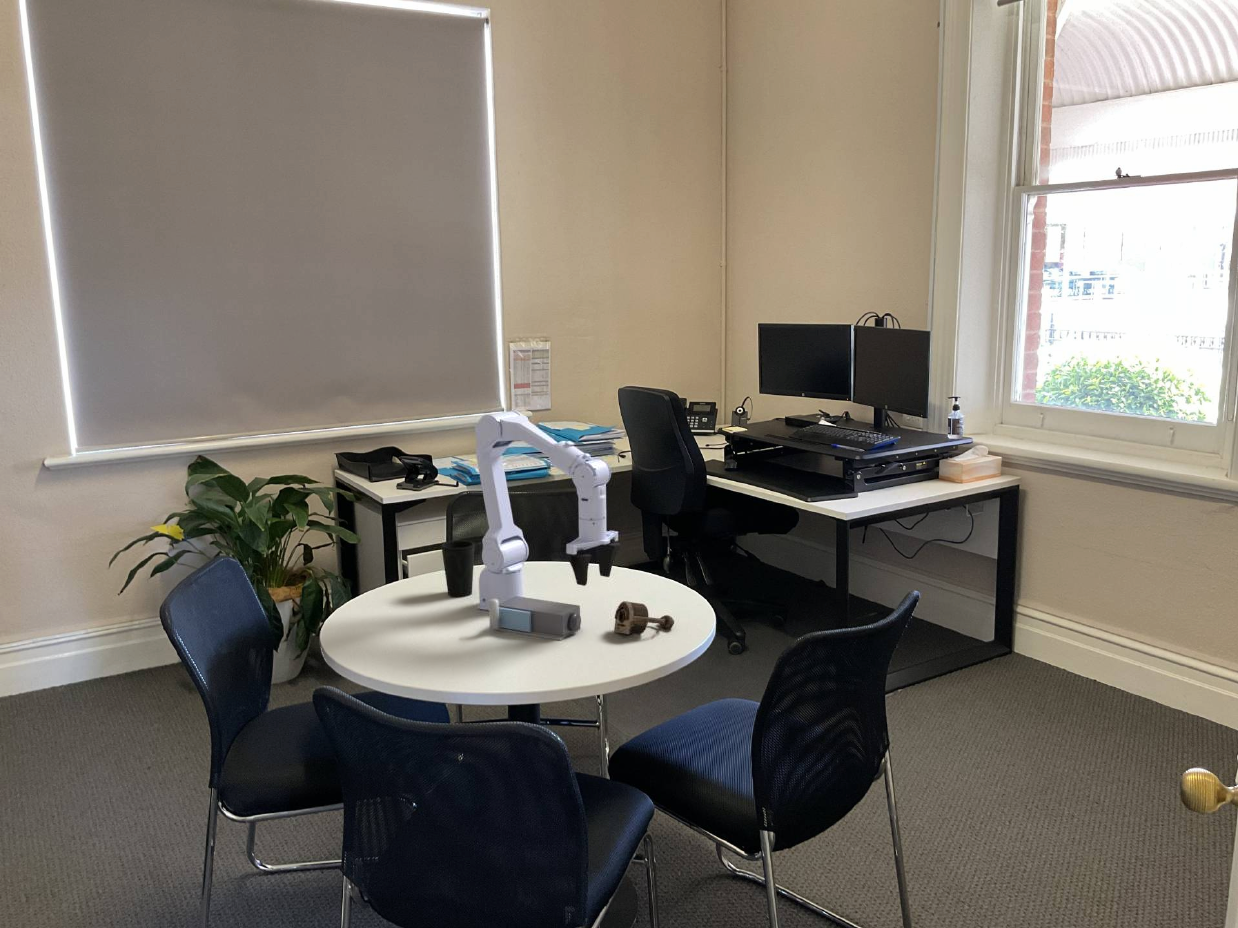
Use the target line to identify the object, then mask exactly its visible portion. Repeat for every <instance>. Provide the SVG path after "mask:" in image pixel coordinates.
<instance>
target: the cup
mask: <svg viewBox="0 0 1238 928" xmlns="http://www.w3.org/2000/svg"><path fill="white" fill-rule="evenodd" d="M475 545H476V544H475V543H474V542H473V541H470V540H460V539H459V540H451V541H446V542H443V543H442V544H441V546H440V547H441V552H442V553H441V554H442V559H443V560H442V561H443V568H444V574H445V580H446V589H447V594H448V596H449V597H451V598H466V597H469V596H471V595H472V594H473V585H474V584H473V581H474V564H475V563H474V562H475V560H474V559H475Z"/></svg>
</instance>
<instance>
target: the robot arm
mask: <svg viewBox="0 0 1238 928" xmlns="http://www.w3.org/2000/svg"><path fill="white" fill-rule="evenodd" d="M474 432H475V439H476V442H475V443H476V444H475V455H476V462H477V468H478V473H479V480H480V483H481V484H480V485H481V489H482V495H483V500H484V506H485V507H484V508H485V512H486V517H487V524H488V529H487V531H486V533H485V534H484V536H483V538H482V540H481V541H482V552H481V559H482V562H483V565H484V566H485V567H483V569H482V570H481V572H480V573H479V576H478V577H479V578H478V591H479V595H478V599H479V605H478V606H477V609H480V610H484V611H489V600H490V599H498V601H499V604H501V603H503V602H505V601H507V600H509V599H511V598H513V597H515V596H519V597H524V586H523V583H524V581H523V568H524V566H525V561H526V560H527V559H528V557H529V554H530V553H529V552H530V551H529V545H528V543H527V542H526V540H525V538H524V534H523V530H522V529H521V528H520V527H518V526H517V525H516V524H515V523H514V518H513V512H512V506H511V502H510V496H509V490H508V483H507V479H506V473H505V468H504V462H503V454H504V453H505V452H506V451H507V449H508V447H509V446H510V445H511V444H513V443H514V442H515V441H521V442H523V443H524V444H526V445H528V446H531V447H532V448H534V449H535V450H537V451H539V452H541V453H543V454H544V455H546V456H548V461H549V463H550V464H551V465H552V466H553V467H554V468H556V469H558V470H559V471H561V472H563V473H564V474H565V475H567V476H568V477H570V478H572V483H573V484H574V486H575V488H576V495H577V497H578V537H577V538H576V539H574V540H573V541H570V542H569V543H567V544H565V545H566V548H565V549H566V550H565V552H564V553H565V555H564V556H565V557H566V560H568V563H569V564H570V566H571V568H572V571H573V575H574V578H575V582H576V585H579V586H582V587H583V586H584V587H585V586H587V583H588V577H589V576H588V575H589V573H588V572H589V565H590V561H591V559H592V554H589V553H586V552H585V550H588V549H589V550H590V549H592V548H595V551H596V554H597V559H598V571H599V575H600V577H605V578H610V576H611V571H612V568H613V563H614V562H615V561H614V560H615V558H616V555H617V554H618V551H619V550H620V548H621V544H620V543H619V542H618V541H619V531H615V530H609V531H608V530H607V486H606V485H607V484H608V483H609V481H610V480H611V477H612V469H611V467H610V464H609V463H608V462H607V461H606V460H605V459H604V458H602V457H594V458H593V457H591V454H589V453H588V452H587V453H585V452H584V451H582V450H580V449H579V448H577V447H576V446H574V445H575V444H574V443H573V442H572V441H570V440H568V441H565V440H562V441H559V442H558V441H557V440H555V439H553V438H552V437H551V436H550V435H548V434H547V433H545V432H544V431H543V430H541V429H540V428H539V427H537V426H536V425H534V423H532V422H530V420H529V419H528V417H527V416H526V415H524V414H522V413H521V412H519V411H517V410H515V409H514V410H509V411H505V412H499V413H493V414H484V415H482V416H481V417H480V418H479V420H478V421H477V423H476V424H475V426H474Z"/></svg>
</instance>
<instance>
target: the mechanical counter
mask: <svg viewBox="0 0 1238 928" xmlns="http://www.w3.org/2000/svg"><path fill="white" fill-rule="evenodd" d="M649 615H650V614H649V610H648V607H647V606H646V605H645V604H644V603H637V602H633V601H632V602H630V601H625V600H623V601H621V602H620V603H619V605H618V606H617V608H616V610H615V614H614V628H613V632H614V633H621V634H625V635H630V634H636V635H642V634H644V632H645V631H646V629H647V626H648V623H650V624H659V625H660V626H661V627H662V628H664V629H668V630H669V629H671V628H673V626H674V624H675V620H674V618H673V617H672V616H670V615H669V614H666V615H663V616H660V618H659V617H650V616H649Z"/></svg>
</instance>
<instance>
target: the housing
mask: <svg viewBox="0 0 1238 928" xmlns="http://www.w3.org/2000/svg"><path fill="white" fill-rule="evenodd" d="M499 607H501V608H508V609H514V610H521V611H527V612H531V632H526V631H520V630H514V629H508V628H502V627H499V629H494V631H495V630H496V631H502V632H507V633H514V634H520V635H526V636H532V637H537V638H538V637H539V638H543V639H548V640H549V639H550V640H554V641H562V640H564V639H566V638H567V637H569V636H570V635H572V634H574V633H575V632H578V631H579V630H580V629H581V625H582V617H581V605H578V604H572V603H571V604H570V603H564V602H558V601H552V600H544V599H538V598H531V597H524V596H523V597H519V596H515V597H513V598H511V599H509V600H507V601H505V602H503V603H501V604H499Z"/></svg>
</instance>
